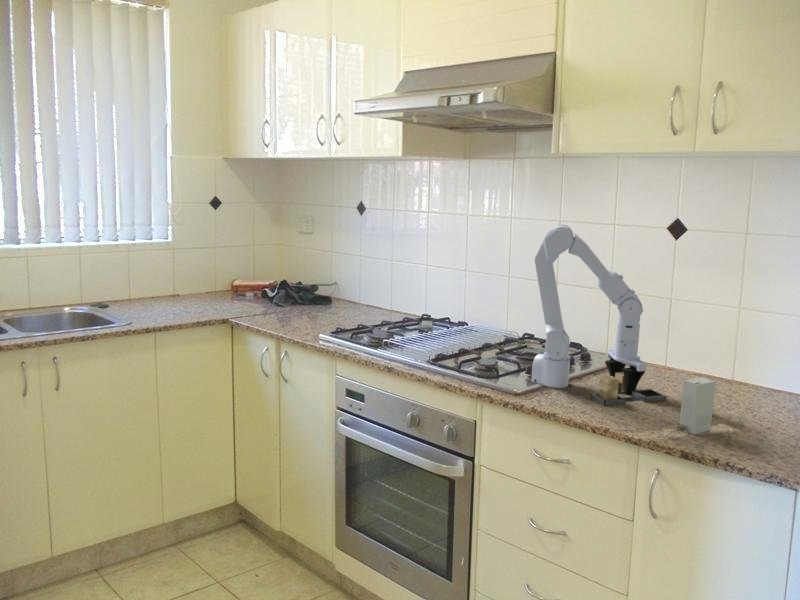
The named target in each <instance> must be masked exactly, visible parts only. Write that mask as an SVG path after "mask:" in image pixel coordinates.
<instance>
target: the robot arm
mask: <svg viewBox="0 0 800 600" xmlns="http://www.w3.org/2000/svg"><path fill="white" fill-rule="evenodd" d="M567 250H568V254H570V255H573V256H576V257H579V259H580V260H581V261H582V262H583V263H584V265H586V266H587V268H589V269H590V271H591V272H592V273H593V274H594V275H595V276H596V277H597V278H598V282H597V286H598V287H599V289H600V290H601V291H602V293H603V294H604V295H605V296H606V298H608V299H609V301H610V302H611V303H612V304H613V305H615V306H617V310H618V318H617V319H618V320H617V321H616V322H617V323H616V330H615V331H616V334H615V343H614V349H607V350H606V354H605V357H606V358H608V360H605V361H604V363H605V366H606V368H607V370H608V374H609V376H613V377H615V373H617V372H624V376H625V392H624V393H625V395H631V391H632V390H637V387H638V384H639V382H640V380H641V378H642V377H643V375H644V374H646V370H647V369H646V368H647V364H646V363H645V362H643V361H642V360H641V356H639V355H638V353H639V352H638V351H639V350H638V349H639V341H640V340H639V339H640V331H641V330H640V328H641V324H640V322H641V316H642V314H643V312H644V309H643V304H642V302H641V300H640V298H639V297H638V295H637V294H636V291H635V290H634V289H633V288H632V289H631V288H630V287H629V285H628V284H627V283H626V282H625V281H624V276H623V275H622V274H621V273H617V271H612V270H611V271H610V270H608V269H607V268H606V267H605V265H604V264H603V263H602V262H601V260H600V259H599V257H598V256H597V255H596V253H594V251H593V250H592V249H591V247H590V246H589V244H587V243H586V241H584V239H582V238H581V237H580V236H579V235H578V234H577V233H574V232H573V230H572V228H571V227H570V226H568V225H566V224H558V225H555V226H553V227H552V229H550V231H548V232H547V233H546V234H545V236H544V239H543V241H542V243H541V245H540V247H539V249H538V251H537V253H536V255H535V257H534V265H535V271H536V276H537V282H538V283H537V284H538V288H539V295H540V300H541V306H542V307H541V308H542V313H543V318H544V324H545V336H546V339H545V344H544V352H543V353H538V354H536V355H535V356H534V359H533V360H532V361H533V362H532V366H531V367H532V368H531V381H530V382H532V383H535V384H539V385H542V386H544V387H548V388H555V389H563V388H567V387H568V386H569V380H570V379H569V378H570V364H571V362H570V361H571V355H570V354H569V352H570V336H569V334H568V333H567V331H566V330H565V325H564V322H563V317H562V311H561V310H562V309H561V305H560V299H559V298H560V297H559V292H558V286H557V279H556V274H555V267H554V263H555V262H556V261H557V259H558V258H559V256H560V255H562V254H563V253H565V252H566V251H567ZM626 366H628V367H626Z"/></svg>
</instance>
